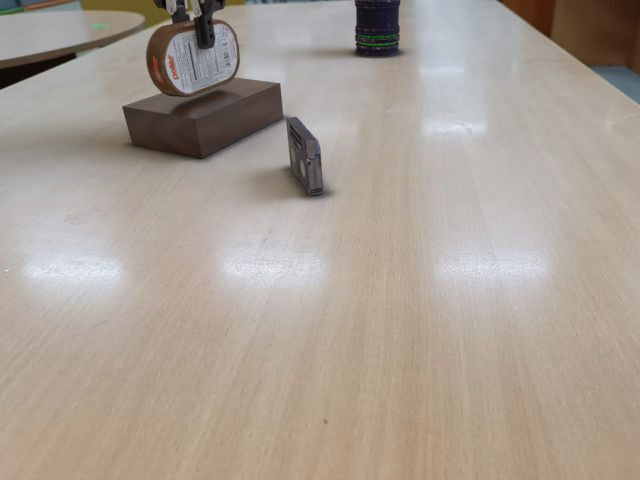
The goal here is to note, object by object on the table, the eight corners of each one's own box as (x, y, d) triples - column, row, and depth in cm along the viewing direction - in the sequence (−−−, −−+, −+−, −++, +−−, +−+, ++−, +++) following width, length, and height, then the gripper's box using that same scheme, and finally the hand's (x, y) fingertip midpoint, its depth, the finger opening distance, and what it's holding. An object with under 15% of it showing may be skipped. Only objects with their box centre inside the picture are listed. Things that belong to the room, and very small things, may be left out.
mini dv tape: (323, 194, 54) (320, 139, 51) (309, 196, 54) (305, 141, 50) (303, 166, 61) (299, 115, 57) (290, 168, 60) (285, 117, 57)
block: (131, 144, 67) (121, 106, 65) (220, 107, 81) (214, 74, 78) (202, 158, 63) (194, 118, 60) (283, 117, 76) (280, 83, 73)
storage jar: (387, 46, 120) (388, -27, 111) (407, 54, 112) (410, -24, 104) (348, 50, 116) (346, -25, 108) (365, 59, 109) (365, -22, 101)
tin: (231, 76, 75) (218, 12, 70) (249, 77, 73) (236, 12, 69) (155, 104, 64) (134, 31, 59) (174, 106, 62) (153, 31, 58)
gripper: (94, -121, 56) (134, 48, 66) (192, -127, 51) (220, 58, 60) (146, -117, 61) (176, 38, 71) (239, -122, 56) (258, 46, 66)
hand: (196, 46), depth 66 cm, fingers closed on tin, 2 cm apart
